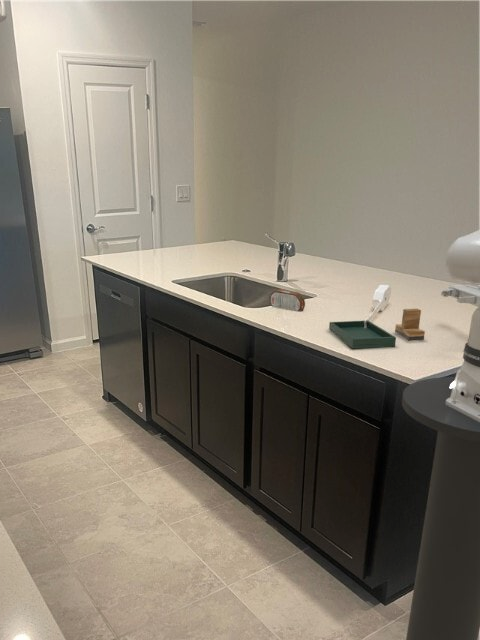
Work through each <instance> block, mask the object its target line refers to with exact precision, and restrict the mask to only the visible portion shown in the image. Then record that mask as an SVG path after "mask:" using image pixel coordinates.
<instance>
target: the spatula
mask: <svg viewBox="0 0 480 640" xmlns="http://www.w3.org/2000/svg"><path fill="white" fill-rule="evenodd" d="M391 294H392V287H391V285H389V284H379V285H378V287H377V288H376V289H375V290H374V293H373V296H372V301H371V302H372V303H371V308H372V312H371V313H370V314H369V315H368V317H367V318H366V319H364V321H365V323H364V329H365V328H366V327H367V321H370V322H371V323H372V321H373V320H374V318H376V315H377V314H378V313H379V312H383V311H384V310H385V309H386V308H387V307H388V305H389V302H390V298H391Z"/></svg>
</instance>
